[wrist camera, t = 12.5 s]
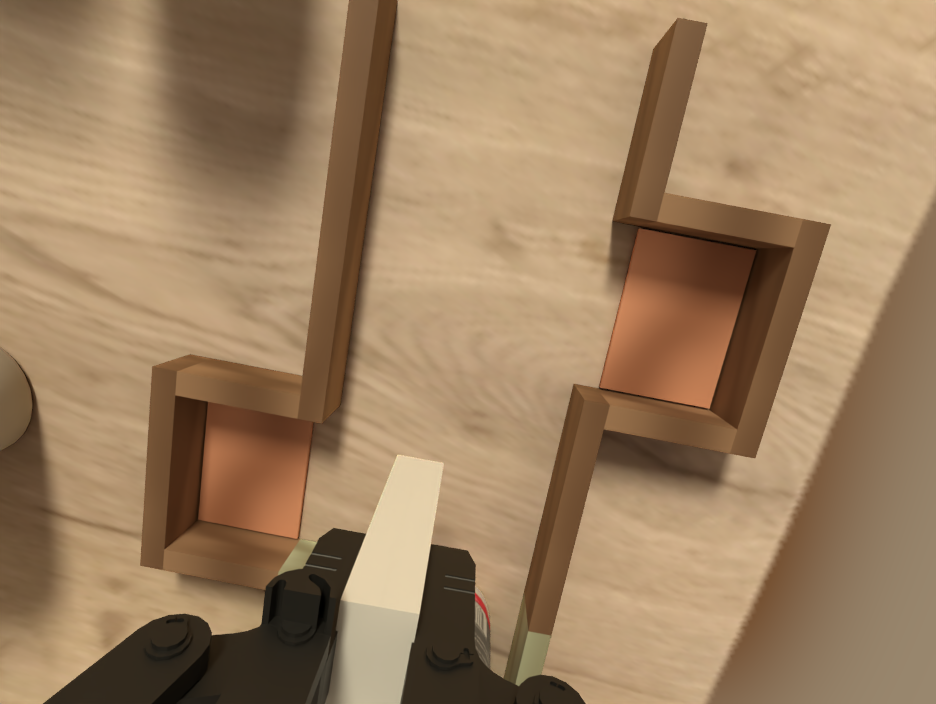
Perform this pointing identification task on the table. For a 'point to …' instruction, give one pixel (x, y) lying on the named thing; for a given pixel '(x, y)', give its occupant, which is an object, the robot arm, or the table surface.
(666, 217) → the trap lane
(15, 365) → the cup
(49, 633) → the table surface
